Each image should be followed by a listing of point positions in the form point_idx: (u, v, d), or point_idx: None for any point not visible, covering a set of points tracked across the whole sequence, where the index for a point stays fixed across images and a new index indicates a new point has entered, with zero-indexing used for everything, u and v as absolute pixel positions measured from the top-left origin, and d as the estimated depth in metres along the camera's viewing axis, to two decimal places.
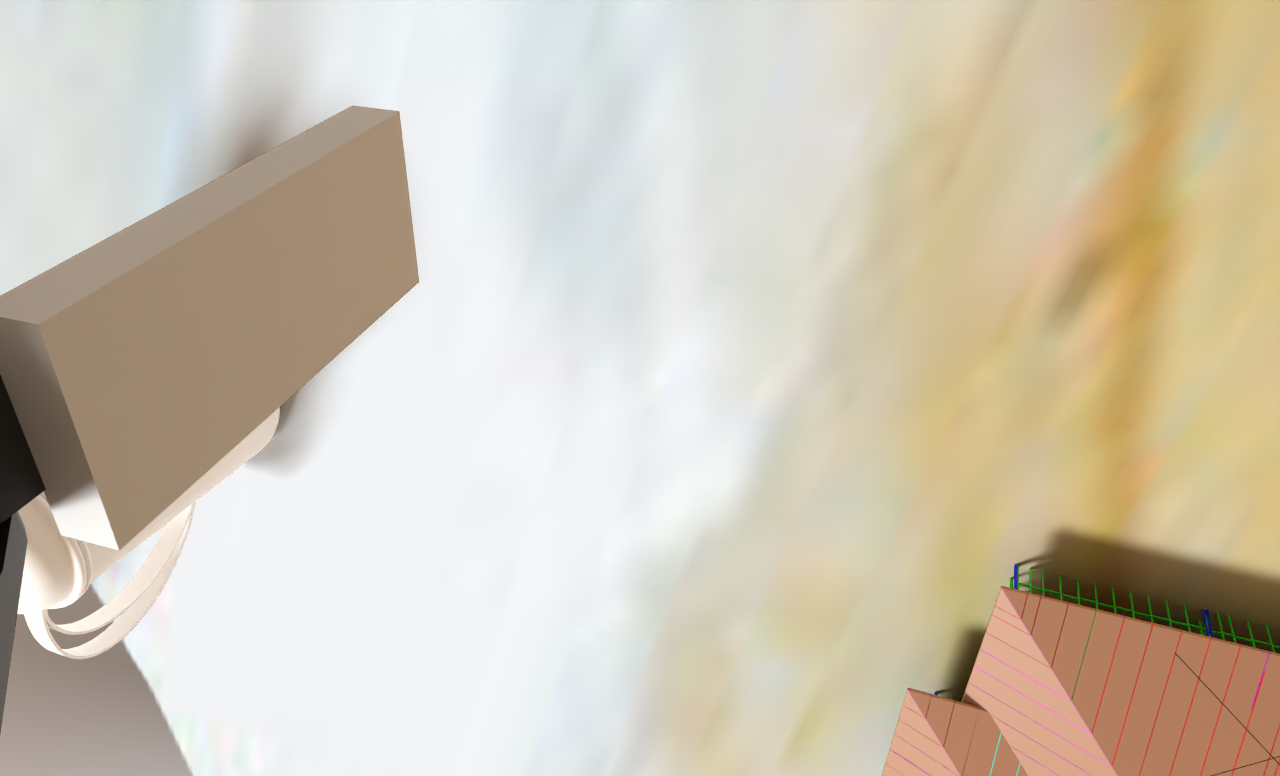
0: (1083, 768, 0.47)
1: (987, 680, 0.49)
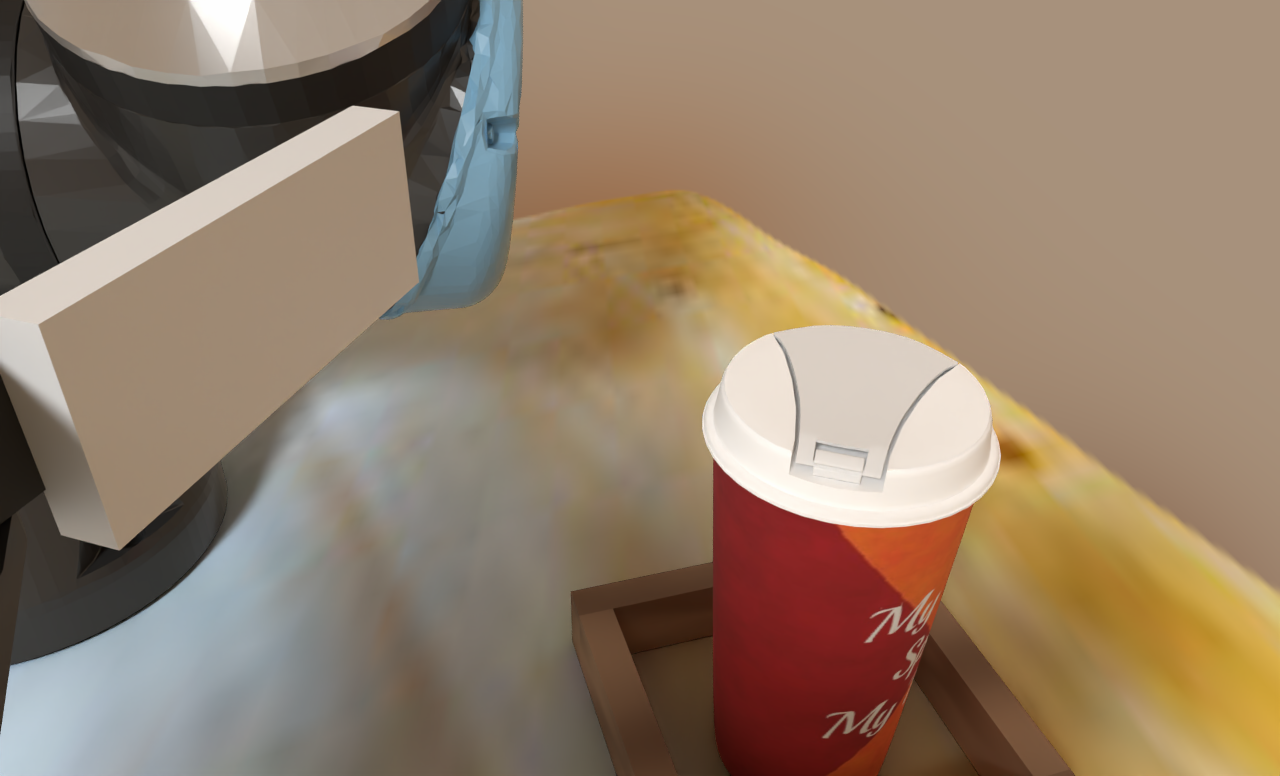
0: None
1: None
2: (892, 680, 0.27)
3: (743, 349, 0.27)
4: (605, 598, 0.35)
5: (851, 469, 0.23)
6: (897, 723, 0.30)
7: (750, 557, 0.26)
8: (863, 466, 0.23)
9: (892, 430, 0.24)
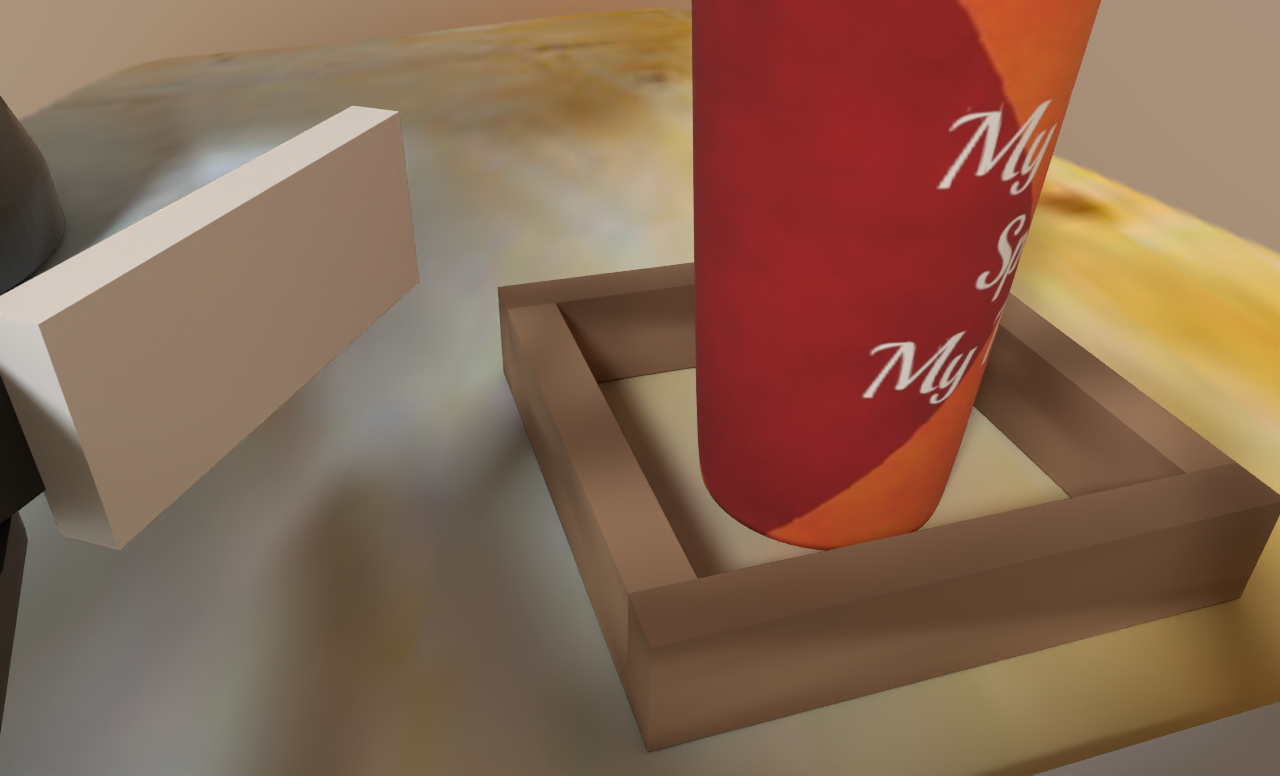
0: None
1: None
2: (975, 290, 0.17)
3: None
4: (545, 293, 0.25)
5: None
6: (970, 409, 0.20)
7: (751, 43, 0.16)
8: None
9: None
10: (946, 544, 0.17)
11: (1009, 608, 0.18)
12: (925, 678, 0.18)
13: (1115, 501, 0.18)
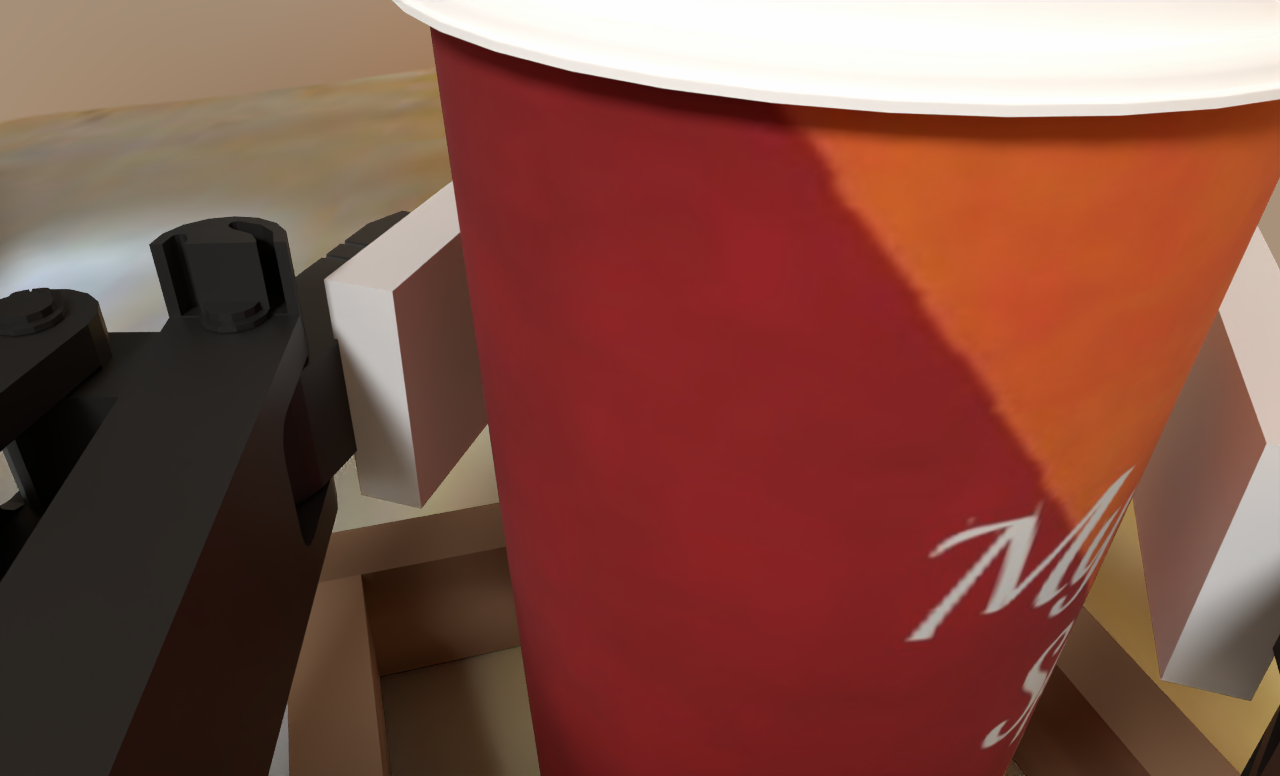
0: None
1: None
2: (981, 750, 0.10)
3: None
4: (351, 554, 0.17)
5: None
6: None
7: (533, 359, 0.08)
8: None
9: None
10: None
11: None
12: None
13: None
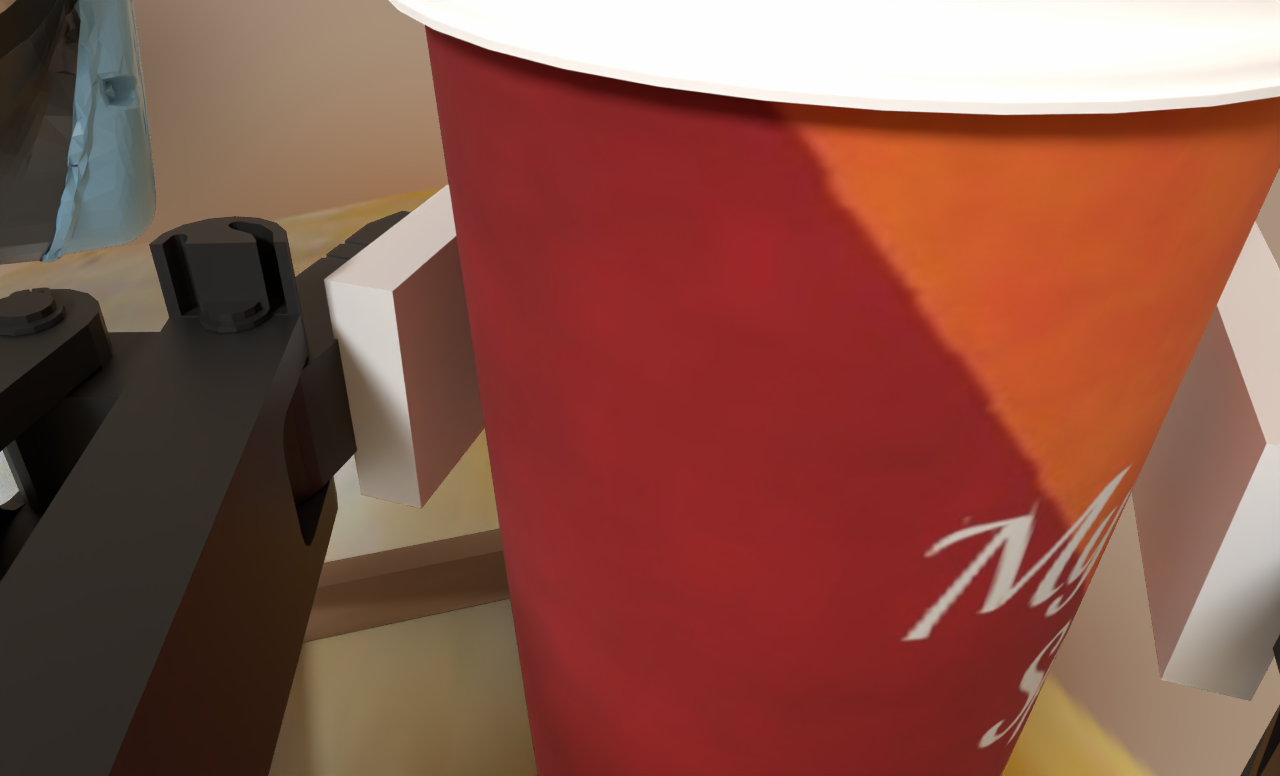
0: None
1: None
2: (978, 750, 0.10)
3: None
4: None
5: None
6: None
7: (528, 358, 0.08)
8: None
9: None
10: None
11: None
12: None
13: None
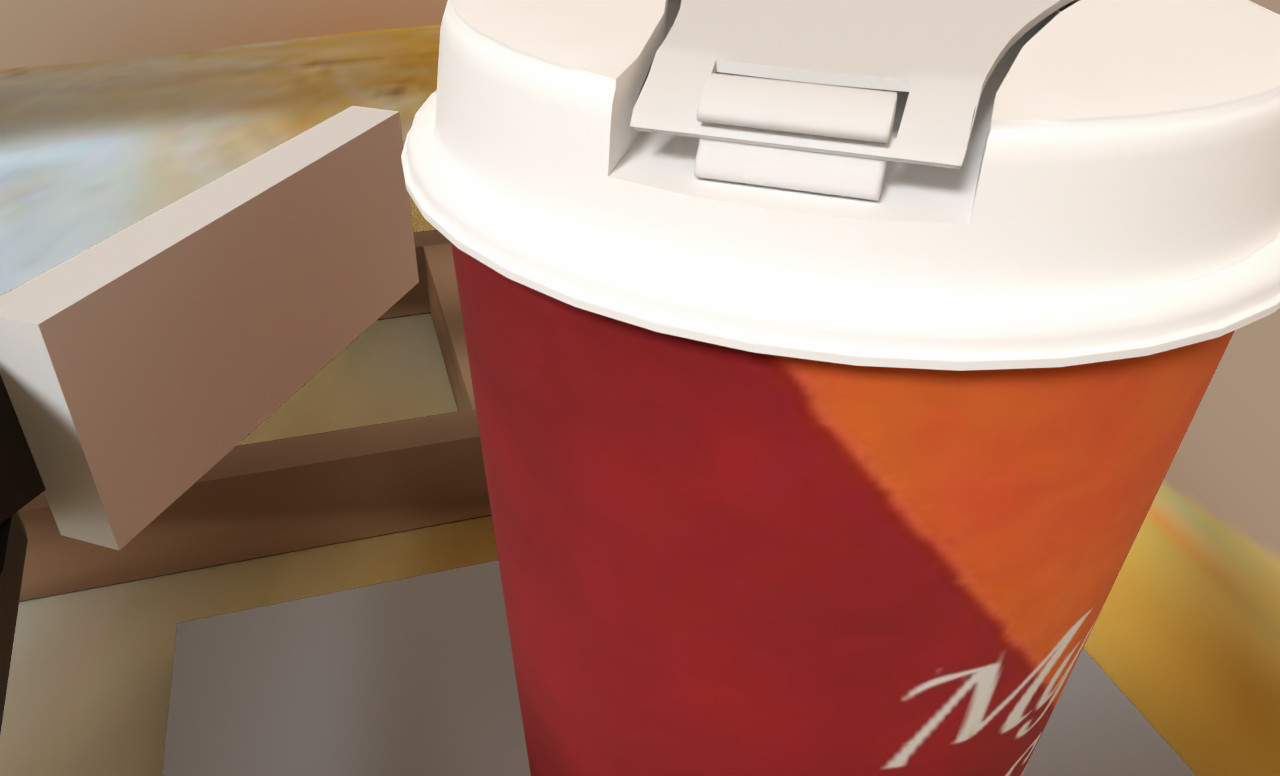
0: None
1: None
2: None
3: None
4: None
5: (845, 128, 0.06)
6: None
7: (540, 512, 0.08)
8: (893, 125, 0.06)
9: (991, 48, 0.07)
10: (239, 456, 0.23)
11: (294, 505, 0.24)
12: (241, 559, 0.24)
13: (397, 428, 0.24)
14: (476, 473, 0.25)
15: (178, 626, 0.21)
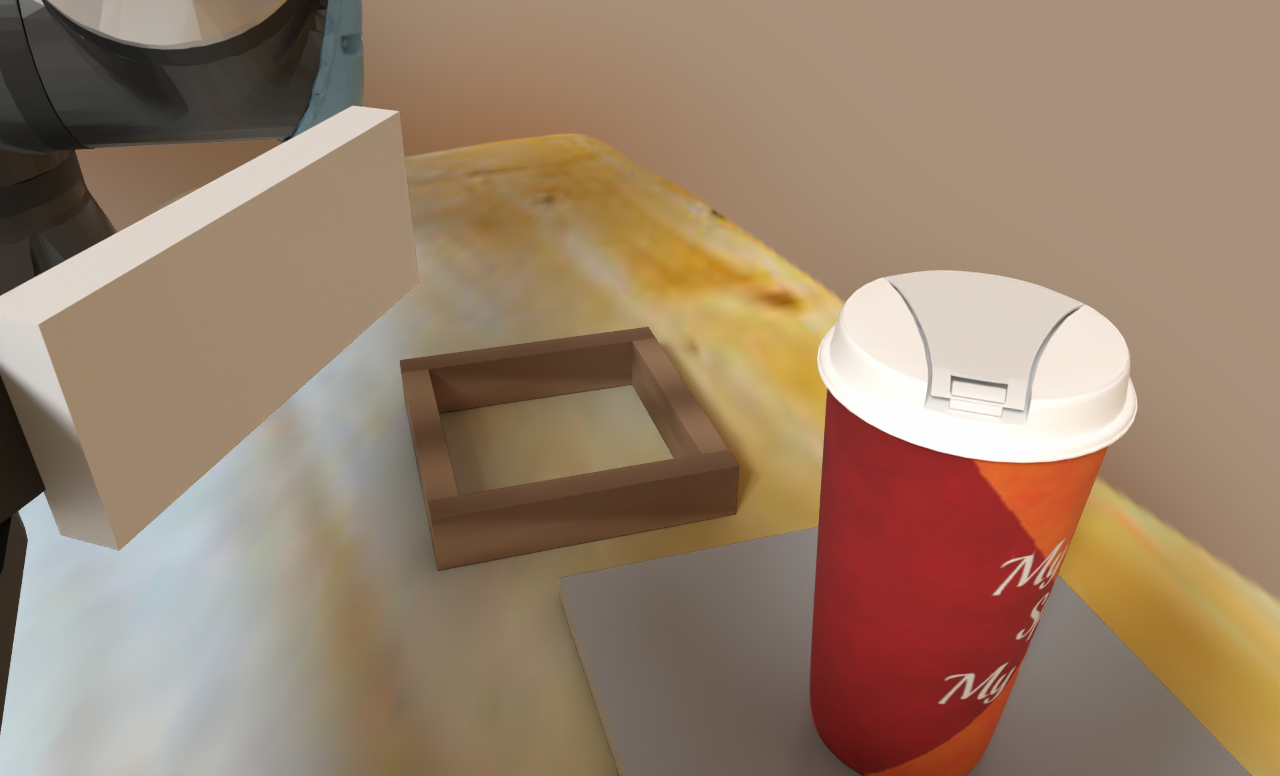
0: None
1: None
2: (1015, 640, 0.26)
3: (857, 291, 0.26)
4: (424, 364, 0.47)
5: (993, 400, 0.22)
6: None
7: (872, 505, 0.24)
8: (1004, 397, 0.22)
9: (1029, 364, 0.23)
10: (573, 483, 0.39)
11: (603, 512, 0.40)
12: (569, 544, 0.40)
13: (659, 466, 0.40)
14: (706, 493, 0.41)
15: (560, 579, 0.37)
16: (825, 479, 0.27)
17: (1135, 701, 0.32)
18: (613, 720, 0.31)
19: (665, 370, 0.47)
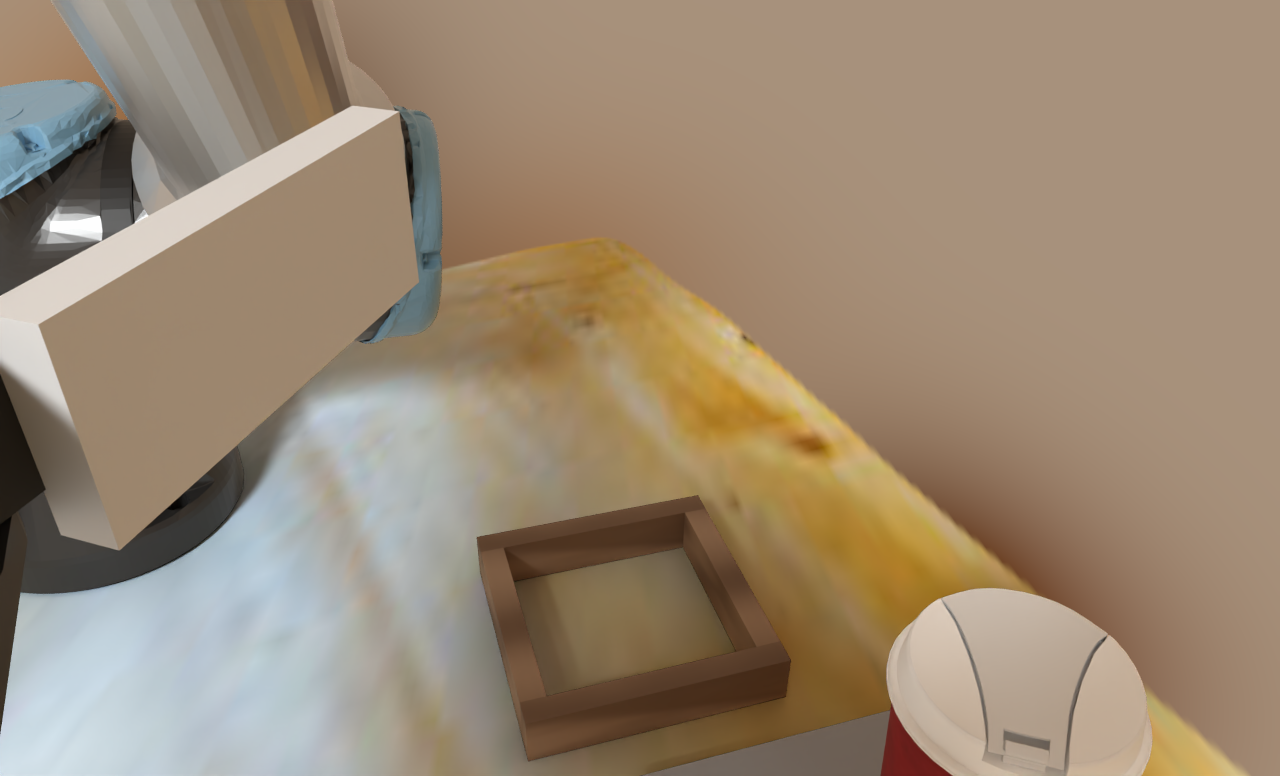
0: None
1: None
2: None
3: (918, 617, 0.31)
4: (499, 541, 0.52)
5: (1038, 761, 0.27)
6: None
7: None
8: (1048, 757, 0.27)
9: (1066, 717, 0.28)
10: (646, 681, 0.45)
11: (672, 705, 0.45)
12: (641, 732, 0.45)
13: (720, 660, 0.46)
14: (761, 683, 0.46)
15: None
16: (889, 767, 0.32)
17: None
18: None
19: (717, 548, 0.52)
